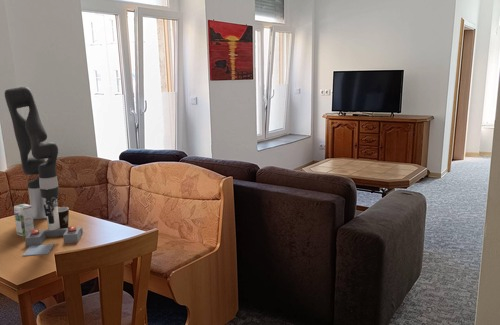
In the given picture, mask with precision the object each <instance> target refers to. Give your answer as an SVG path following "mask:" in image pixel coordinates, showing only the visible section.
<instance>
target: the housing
mask: <svg viewBox="0 0 500 325" xmlns="http://www.w3.org/2000/svg"><path fill="white" fill-rule="evenodd" d="M75 227H76V226H75ZM68 228H69V227H68ZM68 228H62V229H56V230H48V229H39V233H38V235H33V236H32V235H31V233H29V234H28V235H27V236H24V239H25V240H24V241H25V246H26V247H30V246H35V245H43V243H44V242H45V239H47V238H51V237H52V238H53V237H63V243H64V244H70V243H78V242H79V241H80V239H81V237H82V235H83V234H84V229H83V226H77V227H76V231H75V232H72V233H69V232H68Z"/></svg>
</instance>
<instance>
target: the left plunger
mask: <svg viewBox="0 0 500 325" xmlns="http://www.w3.org/2000/svg"><path fill="white" fill-rule="evenodd" d="M39 230H40V229H35V228H34V230H31V231H30V233H31V235H32V236H33V235H38V233H39Z"/></svg>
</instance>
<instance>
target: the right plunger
mask: <svg viewBox="0 0 500 325" xmlns="http://www.w3.org/2000/svg"><path fill="white" fill-rule="evenodd" d="M75 231H76V226H74V225H73V226H68V232H69V233H72V232H75Z"/></svg>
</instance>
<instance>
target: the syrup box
mask: <svg viewBox="0 0 500 325" xmlns="http://www.w3.org/2000/svg"><path fill="white" fill-rule="evenodd" d="M13 212H14V218H15V219H14V220H15V221H14V222H15V229H16V235H17V236H20V237H23V238H25V237H26V236H27V235H28V234H29V233H30V231H31V230H34V229H35V226H34V219H33V214H32V206H31V205H30V204H27V203H21V204H17V205H14V206H13Z"/></svg>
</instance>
